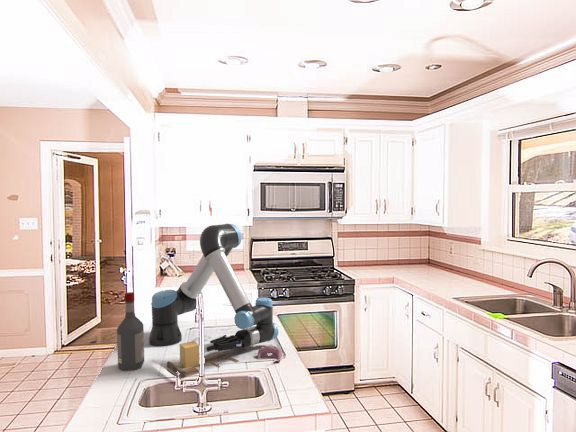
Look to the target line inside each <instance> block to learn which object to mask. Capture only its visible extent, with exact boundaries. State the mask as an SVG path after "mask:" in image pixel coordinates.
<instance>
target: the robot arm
mask: <svg viewBox="0 0 576 432" xmlns="http://www.w3.org/2000/svg"><path fill="white" fill-rule="evenodd" d="M242 239H243V237H242V232H241V230H240V228H239V227H238V226H237V225H236V224H232V223H224V224H215V225H214V224H213V225H208V226H207V227H206V228H204V229H203V230H202V232H201V234H200V236H199V246H200V249H201V253H202V256H201V257H200V260H199V261H198V263H197V264H196V266H195V267H194V269H193V271H192V272H191V274H190V275H189V277H188V278H187V280H186V281H183V282H182V283H181V284H180V285H179V287H178V289H177V290H174V289H166V290H165V289H164V290H160V291H157V292H156V293H154V294H153V295H152V297H151V304H150V305H151V319H152V320H151V322H152V326H151V329H150V333H149V336H148V343H149V345H151V346H154V347H155V346H156V347H158V346H159V347H164V346H167V347H168V346H171V345H176V344H178V343H180V342H181V341H182V339H183V338H182V337H183V336H182V332H181V330H180V329H181V328H180V327H179V324H178V322H179V321H178V316H181V315H183V314H185V313H191V312H193V311H195V310H196V309H197V308H196V297H197V294H202V295H203V289H204V287H205V285H206V284H207V283H208V281H209V280H210V278H211V276H212V275H213V273H215V275H216V277H217V279H218V281H219V283H220V285H221V287H222V289H223V291H224V293H225V295H226V297H227V299H228V301H229V302H230V305H231V306H232V308H233V311H234V312H235V315H234V319H233V320H234V324H235V326H236V327H237V328H238V329H239V330H237V331H236V332H235V334H233V335H229V336H227V335H226V334H223V335H222V336H220V337H217V338H214V339H212V340H209V343H205V344H203V345H204V353H203V354H205V353H208V352H212V351H218V352H222V351H228V350H233V349H245V348H247V347H250V346H251V347H253V346H255V345H258V344H262V343H266V342H270V341H273V340H275V339H277V337H278V336H279V329H278V325H277V323H276V322H275V323H274V321H273V320H274V317H273V312H274V310H273V308H274V307H273V300H272V299H271V298H269V297H258V298H256V300H255V303H254V304H255V305H252V303H251V302H250V299H249V297H248V296H247V294H246V291H245V289H244V287H243V285H242V284H241V281H240V280H239V278H238V276H237V274H236V272H235V270H234V269H233V267H232V265H231V263H230V261H229V259H228V256H229V255H230V253H231V251H232V250H233V249H236V248H237V247H239V246H240V245H241V242H242ZM255 325H256V326H255Z"/></svg>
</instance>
